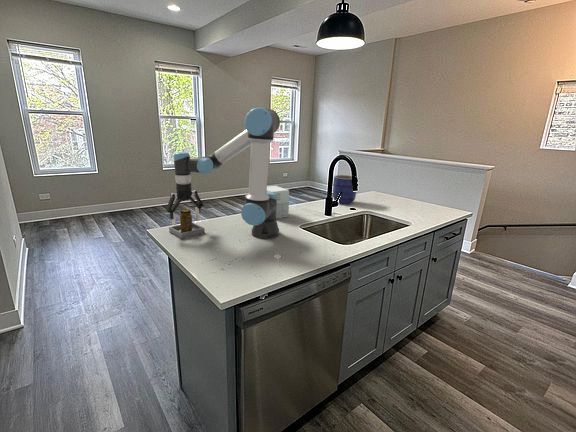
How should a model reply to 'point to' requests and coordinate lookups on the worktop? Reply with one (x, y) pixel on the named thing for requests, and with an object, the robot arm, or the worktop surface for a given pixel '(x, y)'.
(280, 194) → the supplement box
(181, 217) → the condiment
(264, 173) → the robot arm
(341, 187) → the planter
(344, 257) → the worktop surface
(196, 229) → the bin
